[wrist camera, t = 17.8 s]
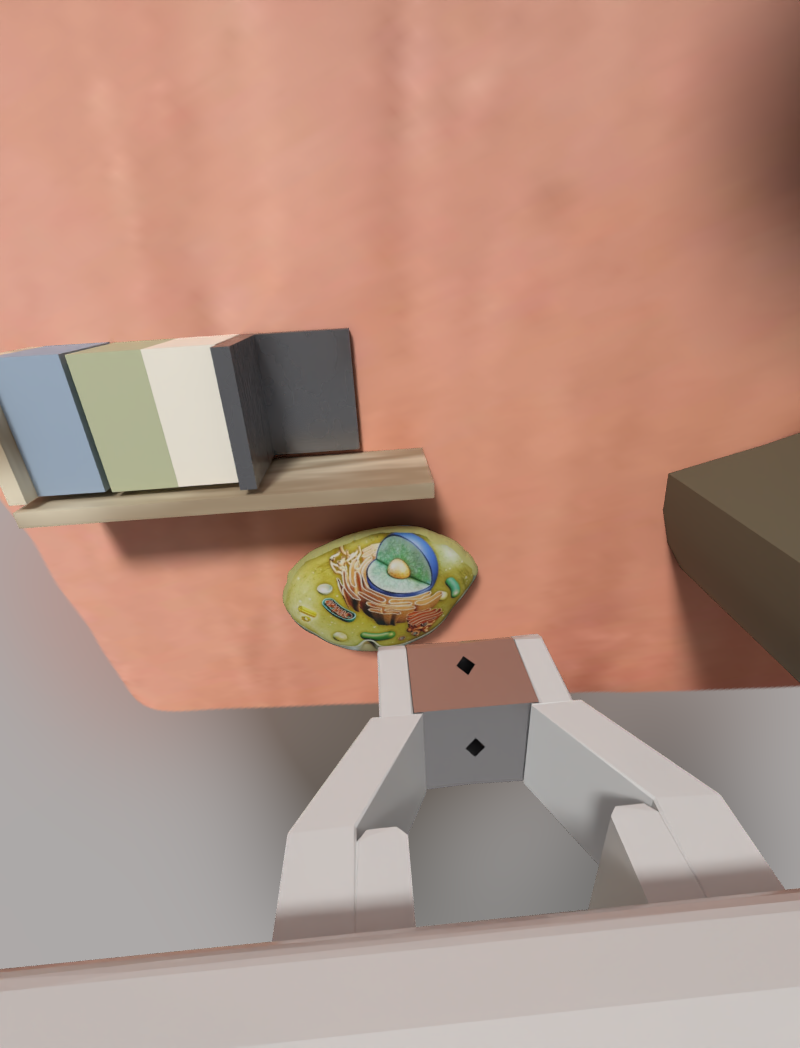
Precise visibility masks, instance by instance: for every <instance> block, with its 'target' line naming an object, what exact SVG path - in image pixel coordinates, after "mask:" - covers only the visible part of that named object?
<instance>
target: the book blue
mask: <svg viewBox="0 0 800 1048" xmlns="http://www.w3.org/2000/svg"><path fill="white" fill-rule="evenodd" d="M107 344H110V343H109V342H105V343H88V344H72V345H55V346H44V347H39V348H33V349H28V350H23V351H18V352H13V353H8V354H3V355H0V405H1V408H2V410H3V413H4V415H5V417H6V420H7V422H8V425H9V427H10V430H11V432H12V434H13V437H14V439H15V442H16V444H17V447H18V449H19V451H20V454H21V456H22V459H23V461H24V463H25V466H26V468H27V471H28V473H29V476H30V478H31V480H32V483H33V485H34V488H35V490H36V493H37V495H38V497H40V496H55V495H69V494H83V493H97V492H106V491H107V490H108V489H110V488H111V487H110V484H109V482H108V479H107V476H106V473H105V470H104V467H103V464H102V461H101V458H100V456H99V453H98V450H97V447H96V444H95V441H94V438H93V435H92V433H91V430H90V427H89V424H88V421H87V418H86V415H85V412H84V409H83V407H82V404H81V401H80V398H79V395H78V392H77V389H76V386H75V383H74V381H73V378H72V375H71V372H70V369H69V366H68V363H67V360H66V358H65V355H66V354H70V353H74V352H78V351H82V350H86V349H90V348H94V347H99V346H103V345H107Z"/></svg>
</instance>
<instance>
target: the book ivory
mask: <svg viewBox="0 0 800 1048" xmlns="http://www.w3.org/2000/svg"><path fill="white" fill-rule="evenodd" d="M238 335H240V334H233V335H218V336H203V337H189V338H177V339H174V340H170V341H167V342H164V343H160V344H157V345H154V346H150V347H147V348H144V349H140V350H141V354H142V358H143V361H144V365H145V368H146V372H147V375H148V379H149V383H150V386H151V390H152V393H153V397H154V400H155V404H156V408H157V411H158V415H159V418H160V422H161V425H162V429H163V433H164V436H165V440H166V443H167V447H168V450H169V454H170V458H171V461H172V465H173V468H174V472H175V475H176V479H177V483H178V486H179V487H185V486H198V485H211V484H224V483H237V482H238V477H237V472H236V468H235V463H234V458H233V454H232V449H231V444H230V440H229V435H228V430H227V426H226V421H225V416H224V412H223V407H222V402H221V398H220V393H219V388H218V383H217V379H216V374H215V369H214V365H213V360H212V355H211V351H210V347H212V346H215V345H217V344H219V343H222V342H224V341H226V340H229V339H231V338H234V337H236V336H238Z"/></svg>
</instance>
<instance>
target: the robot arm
mask: <svg viewBox="0 0 800 1048" xmlns="http://www.w3.org/2000/svg"><path fill="white" fill-rule="evenodd" d="M378 685H379V716H380V717H375V718H371V719H370V720H369V722H368V723H367V724H366V726H365V727H364V728H363V730H362V731H361V733H360V734H359V736H358V737H357V738H356V740H355V741H354V742H353V744H352V745H351V747H350V748H349V749H348V751H347V752H346V754H345V755H344V756H343V758H342V759H341V760H340V762H339V763H338V765H337V766H336V767H335V769H334V770H333V772H332V773H331V774H330V776H329V777H328V778H327V780H326V781H325V783H324V784H323V785H322V787H321V788H320V790H319V791H318V792H317V794H316V795H315V796H314V798H313V799H312V801H311V802H310V803H309V805H308V806H307V808H306V809H305V810H304V812H303V813H302V815H301V816H300V817H299V819H298V820H297V822H296V823H295V824H294V826H293V827H292V828H291V830H290V831H289V833H288V835H287V842H286V849H285V856H284V863H283V869H282V876H281V883H280V891H279V897H278V905H277V911H276V918H275V925H274V932H273V939H272V942H263V943H254V944H244V945H234V946H224V947H214V948H204V949H194V950H185V951H174V952H165V953H155V954H145V955H135V956H126V957H115V958H106V959H95V960H86V961H76V962H66V963H56V964H46V965H37V966H26V967H16V968H6V969H0V1048H800V888H799V889H788V890H785V889H784V887H783V886H782V885H781V883H780V881H779V880H778V879H777V877H776V876H775V874H774V872H773V871H772V870H771V868H770V867H769V865H768V864H767V862H766V861H765V859H764V858H763V856H762V855H761V853H760V852H759V851H758V849H757V848H756V846H755V845H754V843H753V842H752V840H751V839H750V837H749V836H748V834H747V833H746V831H745V830H744V829H743V827H742V826H741V824H740V823H739V821H738V820H737V818H736V817H735V815H734V814H733V812H732V811H731V809H730V808H729V806H728V805H727V804H726V802H725V801H724V799H723V798H722V796H721V795H720V794H719V793H717V792H716V791H715V790H713V789H711V788H710V787H708V786H707V785H706V784H704V783H703V782H701V781H700V780H698V779H697V778H695V777H694V776H693V775H691V774H690V773H688V772H686V771H685V770H684V769H682V768H681V767H679V766H678V765H676V764H675V763H673V762H672V761H671V760H669V759H668V758H666V757H665V756H663V755H662V754H660V753H659V752H657V751H656V750H654V749H653V748H651V747H650V746H649V745H647V744H646V743H644V742H643V741H641V740H640V739H638V738H637V737H635V736H634V735H632V734H631V733H629V732H628V731H626V730H625V729H624V728H622V727H620V726H619V725H618V724H616V723H615V722H613V721H612V720H610V719H609V718H607V717H606V716H604V715H603V714H601V713H600V712H599V711H597V710H596V709H594V708H593V707H591V706H590V705H588V704H587V703H585V702H584V701H582V700H572V698H571V695H570V693H569V691H568V689H567V687H566V685H565V683H564V681H563V679H562V677H561V675H560V673H559V671H558V669H557V667H556V665H555V663H554V661H553V659H552V657H551V655H550V653H549V651H548V649H547V647H546V645H545V643H544V641H543V639H542V637H541V636H540V635H538V634H531V635H521V636H511V638H510V637H505V638H494V639H483V640H472V641H461V642H445V643H427V644H410V645H406V647H405V646H404V645H402V646H385V647H378ZM522 780H524V782H523V783H524V784H525V785H526V786H527V788H529V789H530V791H531V792H532V793H533V794H534V795H535V796H536V797H537V798H538V800H539V801H540V802H541V803H542V804H543V805H544V806H545V807H546V808H547V809H548V810H549V812H550V813H551V814H552V815H553V816H554V817H555V818H556V819H557V820H558V821H559V822H560V824H561V825H563V827H564V828H565V829H566V830H567V831H568V832H569V833H570V834H571V835H572V836H573V838H574V839H575V840H576V841H577V842H578V843H579V844H580V845H581V846H582V847H583V849H584V850H585V851H586V852H587V853H588V854H589V855H590V856H591V857H592V858H593V859H594V861H595V862H596V863H597V864H598V865H599V867H598V871H597V876H596V879H595V884H594V887H593V892H592V896H591V900H590V904H589V908H588V910H579V911H569V912H560V913H550V914H541V915H540V914H539V915H530V916H520V917H510V918H500V919H490V920H481V921H471V922H461V923H452V924H442V925H432V926H422V927H416V926H415V913H414V901H413V890H412V879H411V867H410V855H409V843H408V833H409V831H410V828H411V826H412V824H413V822H414V819H415V817H416V815H417V813H418V810H419V808H420V806H421V803H422V801H423V799H424V796H425V794H426V789H433V788H442V787H450V786H457V785H466V784H474V783H491V782H507V781H522Z"/></svg>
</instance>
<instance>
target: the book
mask: <svg viewBox="0 0 800 1048" xmlns="http://www.w3.org/2000/svg"><path fill="white" fill-rule="evenodd" d="M663 514H664V521H665V528H666V535H667V542H668V544H669V546H670V548H671V550H672V552H673V554H674V556H675V558H676V559H677V561H678V563H679V565H680V567H681V569H682V570H683V571H684V572H685V573H687V574H688V575H689V576H690V577H691V578H692V579H693V580H694V581H695V582H696V583H697V584H698V585H699V586H700V587H701V588H702V589H703V590H704V591H705V592H706V593H707V594H708V595H709V596H710V597H711V598H712V599H713V600H714V601H716V602H717V603H718V604H719V605H720V606H721V607H722V608H723V609H724V610H725V611H726V612H727V613H728V614H729V615H730V616H731V617H732V618H733V619H734V620H735V621H736V622H737V623H738V624H739V625H740V626H741V627H742V628H744V629H745V630H746V631H747V632H748V633H749V634H750V635H751V636H752V637H753V638H754V639H755V640H756V641H757V642H758V643H759V644H760V645H761V646H762V647H763V648H764V649H765V650H766V651H767V652H768V653H769V654H770V655H772V656H773V657H774V658H775V659H776V660H777V661H778V662H779V663H780V664H781V665H782V666H783V667H784V668H785V669H786V670H787V671H788V672H789V673H790V674H791V675H792V676H793V677H794V678H795V679H796V680H797V681H798V682H800V433H798V434H795V435H792V436H789V437H786V438H783V439H780V440H777V441H774V442H772V443H769V444H766V445H763V446H760V447H756V448H753V449H749V450H746V451H743V452H739V453H736V454H733V455H729V456H726V457H723V458H719V459H716V460H713V461H709V462H706V463H703V464H699V465H696V466H693V467H689V468H686V469H683V470H679V471H676V472H673V473H669V474H668V481H667V488H666V494H665V501H664V508H663Z"/></svg>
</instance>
